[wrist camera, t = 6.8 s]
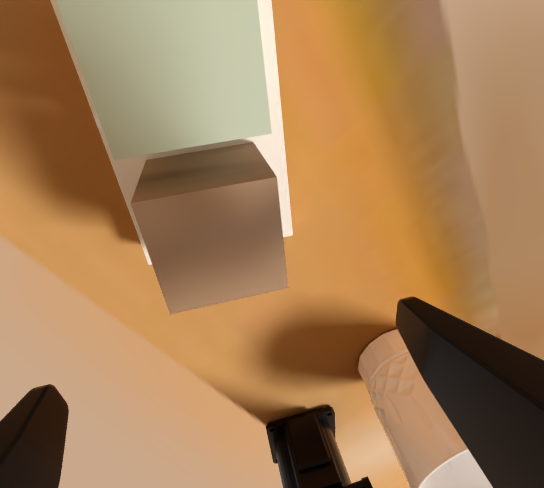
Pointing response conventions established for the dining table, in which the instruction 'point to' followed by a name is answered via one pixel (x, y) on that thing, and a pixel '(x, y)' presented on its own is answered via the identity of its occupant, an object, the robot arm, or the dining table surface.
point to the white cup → (415, 419)
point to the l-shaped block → (178, 81)
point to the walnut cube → (211, 225)
